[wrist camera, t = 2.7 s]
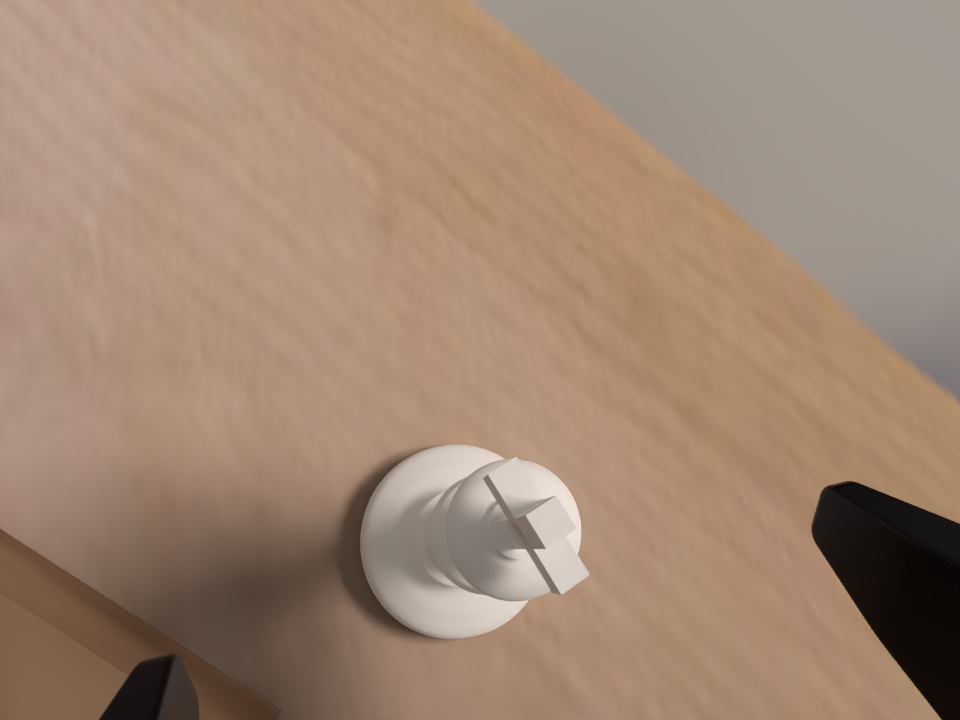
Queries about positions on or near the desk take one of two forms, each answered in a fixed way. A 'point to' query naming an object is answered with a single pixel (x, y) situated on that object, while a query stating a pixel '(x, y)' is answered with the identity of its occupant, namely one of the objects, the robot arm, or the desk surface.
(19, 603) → the walnut block
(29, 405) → the desk surface
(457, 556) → the chess piece
